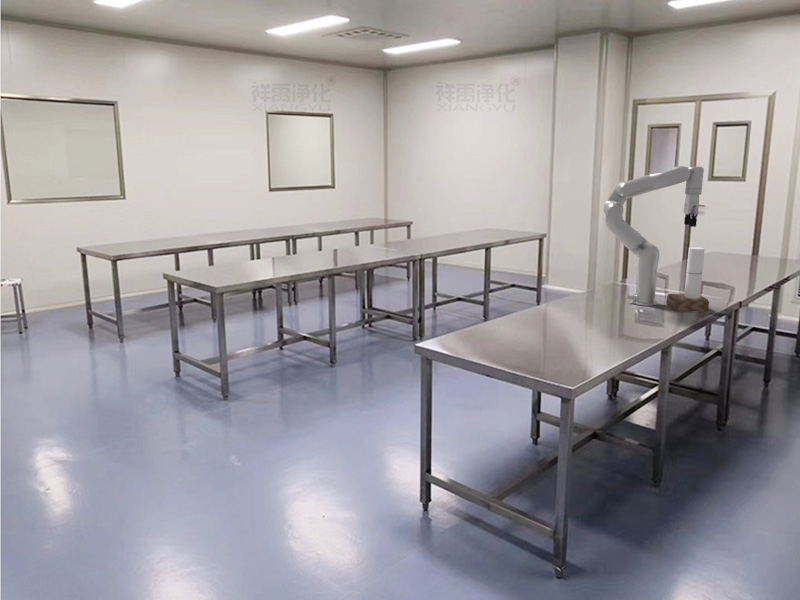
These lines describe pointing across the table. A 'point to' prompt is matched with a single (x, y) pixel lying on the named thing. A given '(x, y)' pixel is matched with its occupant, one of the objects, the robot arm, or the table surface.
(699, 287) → the cylindrical container
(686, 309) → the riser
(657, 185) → the robot arm
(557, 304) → the table surface
